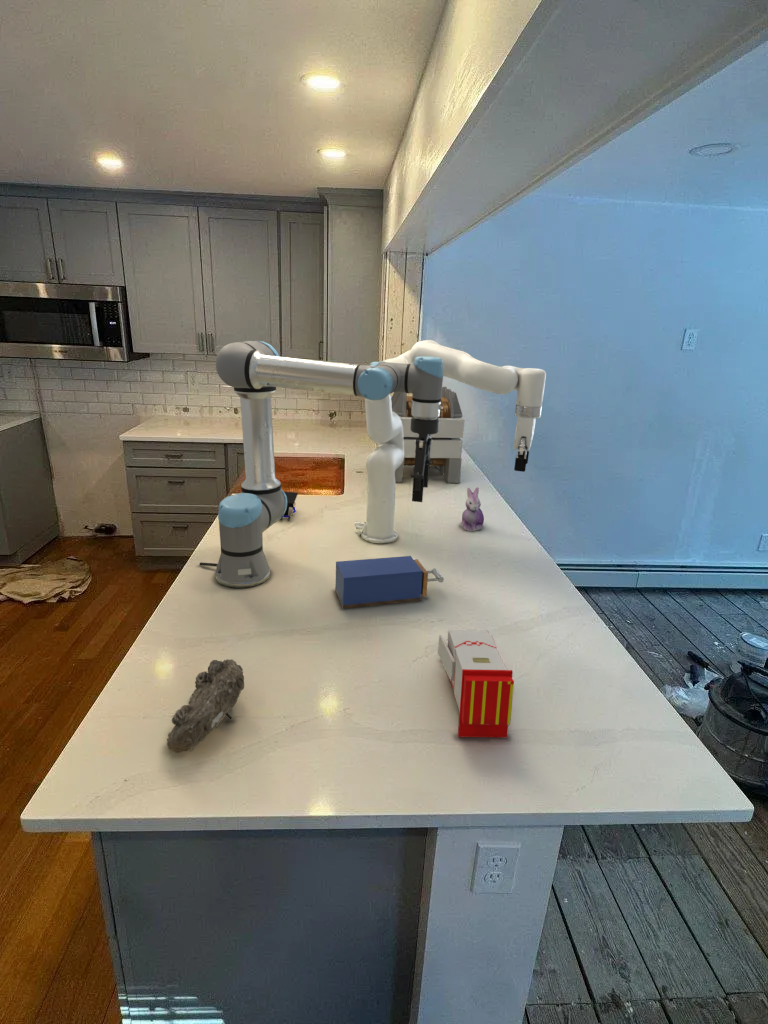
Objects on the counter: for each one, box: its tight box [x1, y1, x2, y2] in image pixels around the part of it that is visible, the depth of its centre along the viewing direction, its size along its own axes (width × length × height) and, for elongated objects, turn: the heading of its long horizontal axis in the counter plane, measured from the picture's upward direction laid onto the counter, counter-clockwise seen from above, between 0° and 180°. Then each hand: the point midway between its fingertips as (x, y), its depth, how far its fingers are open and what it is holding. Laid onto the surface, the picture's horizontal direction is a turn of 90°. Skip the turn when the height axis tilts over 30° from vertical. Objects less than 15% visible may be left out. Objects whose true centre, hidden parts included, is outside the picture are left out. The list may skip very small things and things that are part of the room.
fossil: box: [166, 658, 245, 754], centre depth 106 cm, size 22×10×15 cm
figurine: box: [460, 486, 485, 532], centre depth 206 cm, size 9×10×15 cm
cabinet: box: [334, 555, 423, 610], centre depth 155 cm, size 22×10×9 cm, turn 106°
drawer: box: [413, 558, 445, 597], centre depth 156 cm, size 26×9×7 cm, turn 106°
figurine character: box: [279, 491, 299, 522], centre depth 211 cm, size 7×8×15 cm
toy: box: [437, 628, 515, 738], centre depth 117 cm, size 12×13×30 cm
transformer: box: [391, 386, 465, 484], centre depth 268 cm, size 34×33×41 cm
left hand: (420, 493), depth 157 cm, fingers open, 13 cm apart
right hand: (520, 467), depth 174 cm, fingers open, 9 cm apart
